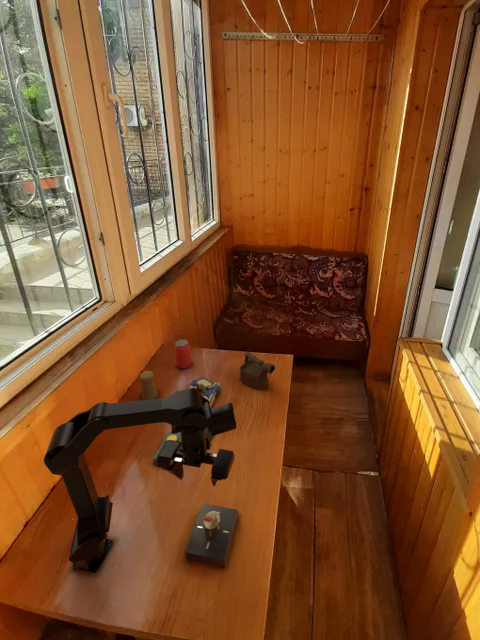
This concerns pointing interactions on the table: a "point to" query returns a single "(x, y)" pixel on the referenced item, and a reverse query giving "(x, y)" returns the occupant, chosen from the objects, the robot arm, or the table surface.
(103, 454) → the table surface
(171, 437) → the cylinder
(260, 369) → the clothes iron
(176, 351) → the beer can
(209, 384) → the toy gun
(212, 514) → the nozzle dial
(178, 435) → the green block
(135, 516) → the table surface
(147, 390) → the cork
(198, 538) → the black flat block
